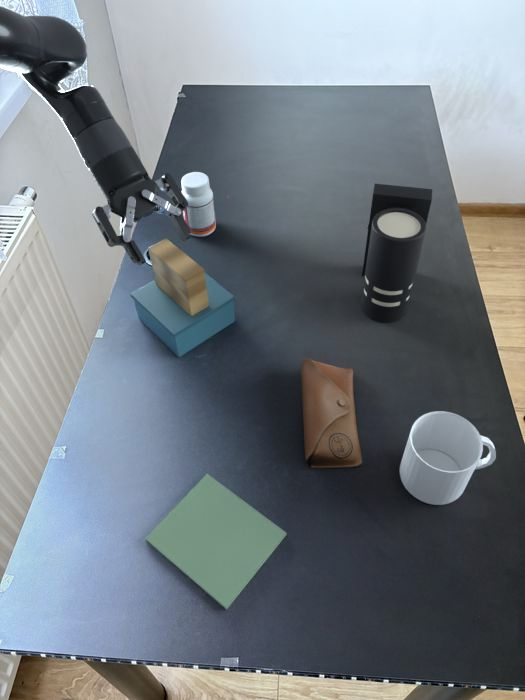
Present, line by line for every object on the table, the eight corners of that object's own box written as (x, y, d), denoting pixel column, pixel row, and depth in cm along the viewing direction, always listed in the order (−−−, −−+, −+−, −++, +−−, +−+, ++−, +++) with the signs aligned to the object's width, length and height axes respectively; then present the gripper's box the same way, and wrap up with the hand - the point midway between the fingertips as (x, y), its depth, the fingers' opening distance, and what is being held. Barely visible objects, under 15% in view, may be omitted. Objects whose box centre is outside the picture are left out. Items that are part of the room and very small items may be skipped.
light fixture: (353, 318, 102) (364, 236, 89) (362, 265, 111) (372, 183, 97) (411, 326, 101) (431, 244, 87) (415, 271, 109) (434, 189, 96)
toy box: (237, 321, 103) (234, 296, 98) (178, 359, 98) (173, 334, 93) (193, 284, 109) (189, 259, 104) (136, 318, 104) (130, 293, 99)
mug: (399, 502, 80) (411, 468, 73) (398, 444, 86) (408, 408, 79) (491, 511, 79) (512, 478, 72) (483, 452, 85) (502, 416, 78)
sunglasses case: (366, 465, 83) (345, 445, 79) (322, 479, 86) (299, 459, 82) (353, 365, 95) (334, 342, 91) (314, 380, 98) (294, 358, 94)
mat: (226, 610, 72) (226, 608, 72) (145, 540, 78) (145, 538, 78) (286, 534, 78) (286, 532, 78) (207, 475, 84) (207, 473, 83)
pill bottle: (187, 218, 121) (180, 169, 113) (217, 218, 121) (212, 169, 112) (183, 237, 117) (175, 189, 109) (214, 238, 117) (209, 189, 108)
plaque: (209, 305, 97) (204, 268, 91) (191, 316, 95) (185, 280, 89) (173, 274, 102) (166, 238, 96) (156, 284, 100) (147, 248, 94)
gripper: (73, 167, 85) (133, 268, 88) (156, 131, 91) (209, 226, 94) (65, 184, 91) (121, 276, 95) (142, 148, 97) (193, 237, 100)
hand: (165, 251), depth 94 cm, fingers open, 8 cm apart
